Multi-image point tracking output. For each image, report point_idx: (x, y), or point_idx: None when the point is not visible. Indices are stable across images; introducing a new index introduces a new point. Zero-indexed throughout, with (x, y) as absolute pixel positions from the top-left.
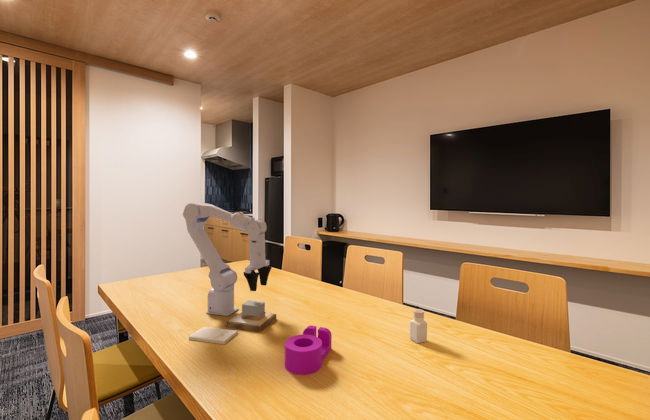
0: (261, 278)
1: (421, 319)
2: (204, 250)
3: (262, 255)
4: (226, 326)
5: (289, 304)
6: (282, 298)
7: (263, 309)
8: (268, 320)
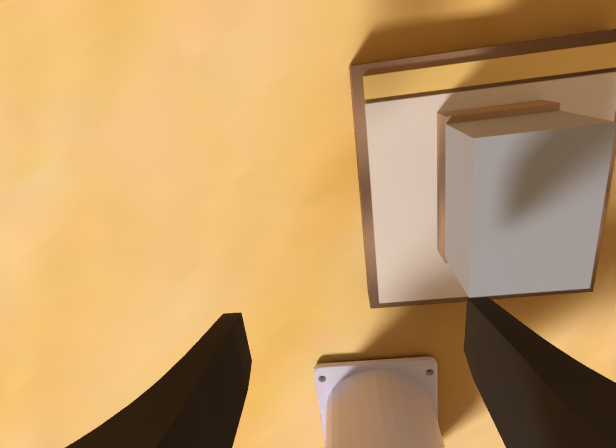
0: (227, 423)
1: None
2: None
3: None
4: None
5: (63, 136)
6: (5, 245)
7: (477, 125)
8: (493, 46)
